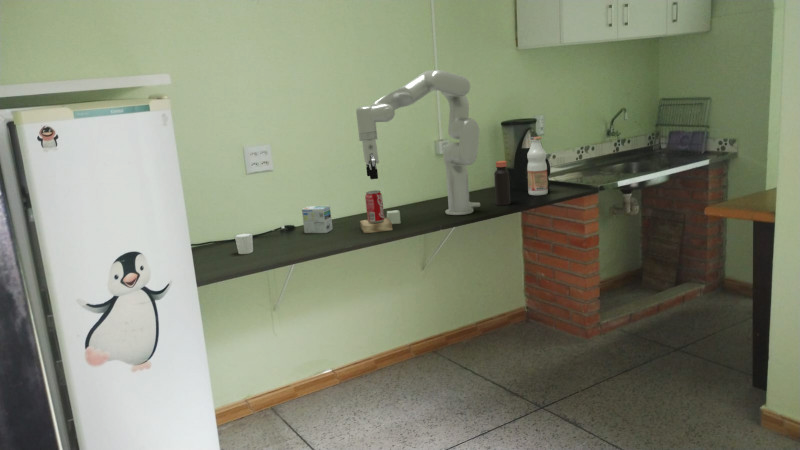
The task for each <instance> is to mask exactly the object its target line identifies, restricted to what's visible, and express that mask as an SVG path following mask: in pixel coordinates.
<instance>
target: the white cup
mask: <svg viewBox="0 0 800 450" xmlns="http://www.w3.org/2000/svg"><path fill="white" fill-rule="evenodd" d="M234 239H235V243H236V248H237V252H238V255H247V254H251V253H253V252H254V245H253V243H254V242H253V241H254V240H253V233H251V232H244V233H238V234H236V235H234Z"/></svg>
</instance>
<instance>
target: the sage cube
mask: <svg viewBox="0 0 800 450" xmlns="http://www.w3.org/2000/svg"><path fill="white" fill-rule="evenodd" d="M386 218H388V219H389V220H390V221H391V223H392V225H397V224H401V223H402V222H401V213H400V210H398V209H397V210H396V209H395V210H386Z"/></svg>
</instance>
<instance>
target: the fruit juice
mask: <svg viewBox="0 0 800 450" xmlns="http://www.w3.org/2000/svg"><path fill="white" fill-rule="evenodd" d="M530 142H531V144H530V147H529V150H528V152H527V153H526V154H527V156H526V158H527V161H528V162H527V169H526V170H527V191H528V195H530V196H544V195H547V194H548V192H549V189H548V188H549V186H548V166H547V162H546V160H547V152H546V150H545V149H544V146H543V145H542V137H541V136H530Z"/></svg>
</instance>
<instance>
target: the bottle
mask: <svg viewBox="0 0 800 450" xmlns="http://www.w3.org/2000/svg"><path fill="white" fill-rule="evenodd" d="M507 164H508V162H507V161H506V160H498V161H496V162H495V168H496V170H495V172H494V192H495V205H497V206H499V207H501V206H508V205H511V183H510V172H509V170H508V169H507V166H508V165H507Z"/></svg>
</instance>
